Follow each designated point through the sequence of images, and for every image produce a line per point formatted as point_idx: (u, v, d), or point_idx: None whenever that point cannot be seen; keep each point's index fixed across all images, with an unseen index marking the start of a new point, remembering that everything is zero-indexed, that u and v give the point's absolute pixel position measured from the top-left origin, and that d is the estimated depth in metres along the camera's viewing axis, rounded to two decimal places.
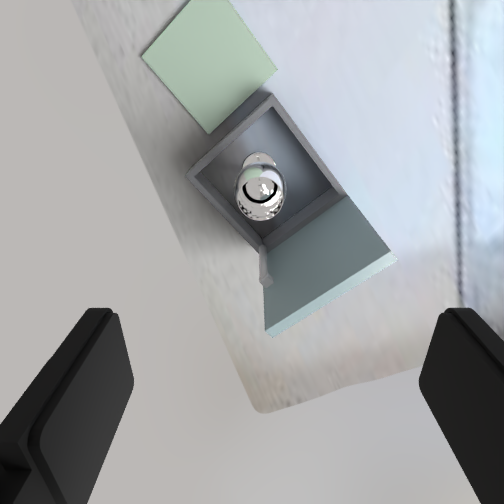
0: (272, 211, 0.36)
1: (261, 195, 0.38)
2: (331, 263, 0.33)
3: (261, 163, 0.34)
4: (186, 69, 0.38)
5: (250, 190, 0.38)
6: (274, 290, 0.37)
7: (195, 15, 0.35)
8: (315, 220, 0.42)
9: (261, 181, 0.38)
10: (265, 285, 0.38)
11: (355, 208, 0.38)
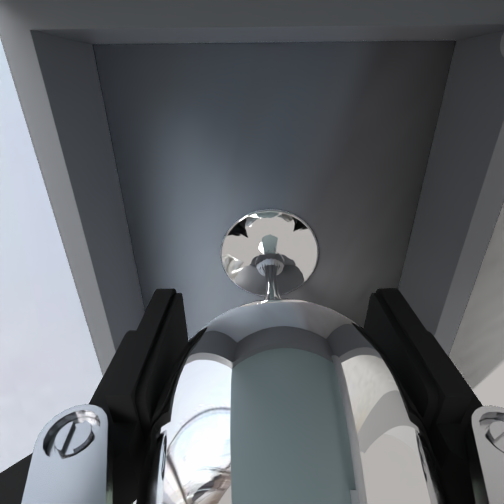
0: (318, 373, 0.05)
1: None
2: None
3: None
4: None
5: None
6: None
7: None
8: None
9: None
10: None
11: None
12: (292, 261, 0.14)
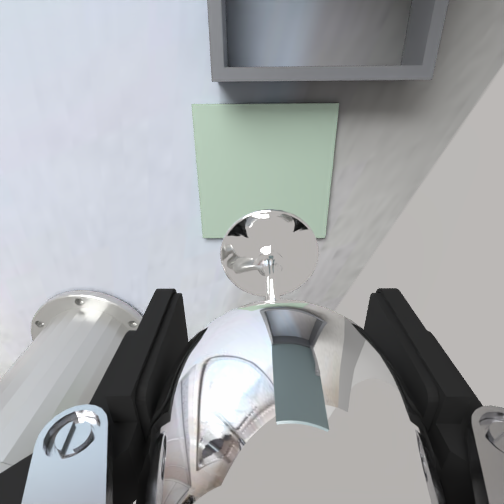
0: (319, 374, 0.05)
1: None
2: None
3: None
4: (294, 192, 0.28)
5: None
6: None
7: None
8: None
9: None
10: None
11: None
12: (292, 261, 0.14)
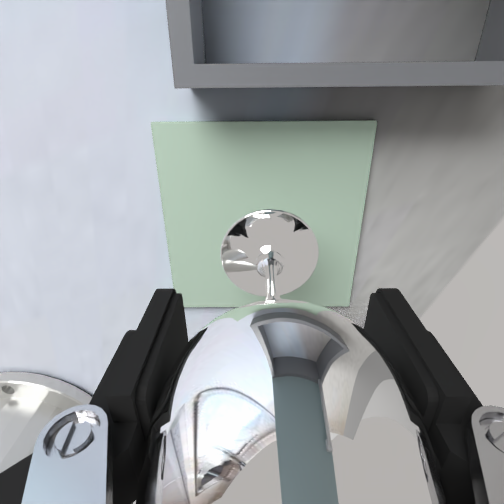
0: (319, 374, 0.05)
1: None
2: None
3: None
4: None
5: None
6: None
7: (231, 290, 0.20)
8: None
9: None
10: None
11: None
12: (292, 261, 0.14)
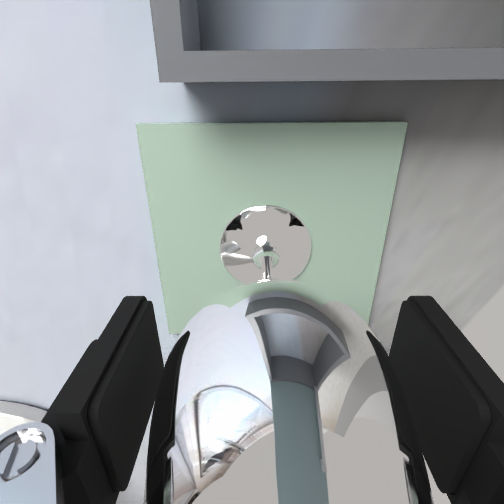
0: None
1: None
2: None
3: None
4: (319, 268, 0.16)
5: None
6: None
7: None
8: None
9: None
10: None
11: None
12: (287, 254, 0.15)
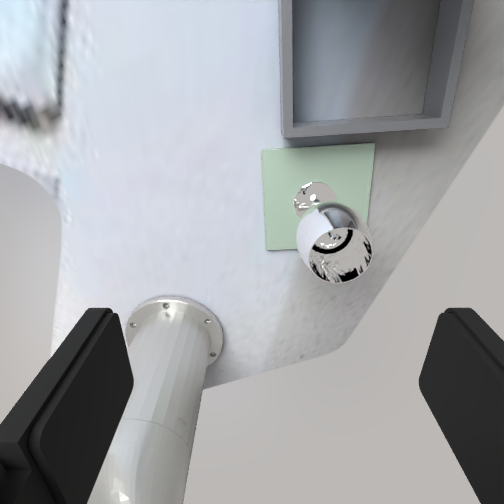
0: None
1: None
2: None
3: None
4: None
5: None
6: None
7: None
8: None
9: None
10: None
11: None
12: None
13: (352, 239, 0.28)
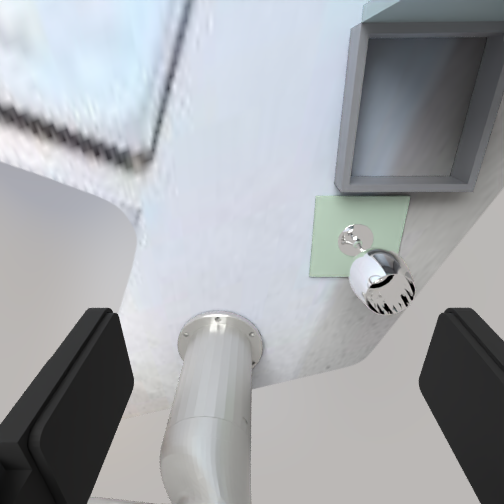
0: None
1: None
2: None
3: None
4: None
5: None
6: None
7: (337, 268, 0.43)
8: (423, 21, 0.28)
9: None
10: None
11: (381, 13, 0.24)
12: (364, 242, 0.41)
13: (392, 277, 0.35)
